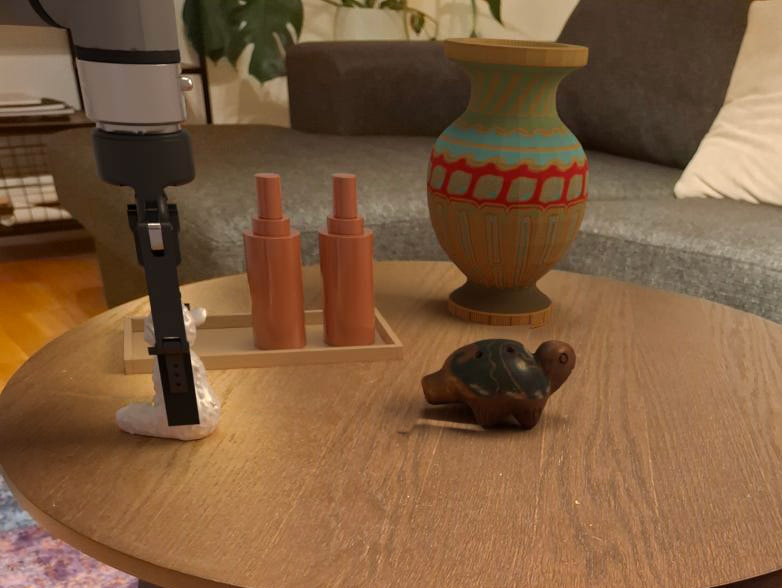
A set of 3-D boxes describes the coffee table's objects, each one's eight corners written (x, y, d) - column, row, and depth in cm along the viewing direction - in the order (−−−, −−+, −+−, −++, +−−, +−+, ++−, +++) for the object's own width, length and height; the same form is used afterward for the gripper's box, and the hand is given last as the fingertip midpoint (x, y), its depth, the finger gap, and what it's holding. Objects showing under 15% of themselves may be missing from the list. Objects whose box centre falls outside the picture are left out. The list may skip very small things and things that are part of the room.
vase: (440, 287, 128) (446, 33, 110) (579, 300, 126) (608, 45, 109) (409, 328, 112) (411, 40, 95) (567, 344, 110) (599, 53, 93)
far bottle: (316, 345, 104) (307, 177, 93) (332, 330, 108) (325, 168, 98) (367, 351, 103) (363, 182, 93) (380, 335, 108) (378, 173, 97)
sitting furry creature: (197, 402, 90) (179, 277, 83) (255, 426, 86) (241, 297, 79) (113, 429, 84) (87, 296, 77) (172, 457, 80) (150, 319, 73)
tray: (126, 379, 94) (123, 359, 93) (127, 335, 105) (123, 317, 104) (403, 364, 102) (403, 346, 101) (376, 324, 113) (376, 307, 112)
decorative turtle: (584, 433, 89) (590, 354, 84) (433, 449, 86) (430, 369, 81) (556, 391, 96) (561, 316, 91) (416, 405, 93) (412, 329, 88)
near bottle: (245, 349, 101) (228, 177, 91) (264, 333, 106) (250, 168, 96) (297, 354, 101) (284, 182, 90) (313, 338, 106) (304, 172, 95)
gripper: (197, 147, 63) (233, 448, 76) (183, 109, 79) (215, 363, 93) (82, 146, 61) (140, 455, 74) (92, 107, 77) (138, 367, 91)
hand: (181, 404), depth 83 cm, fingers open, 8 cm apart
